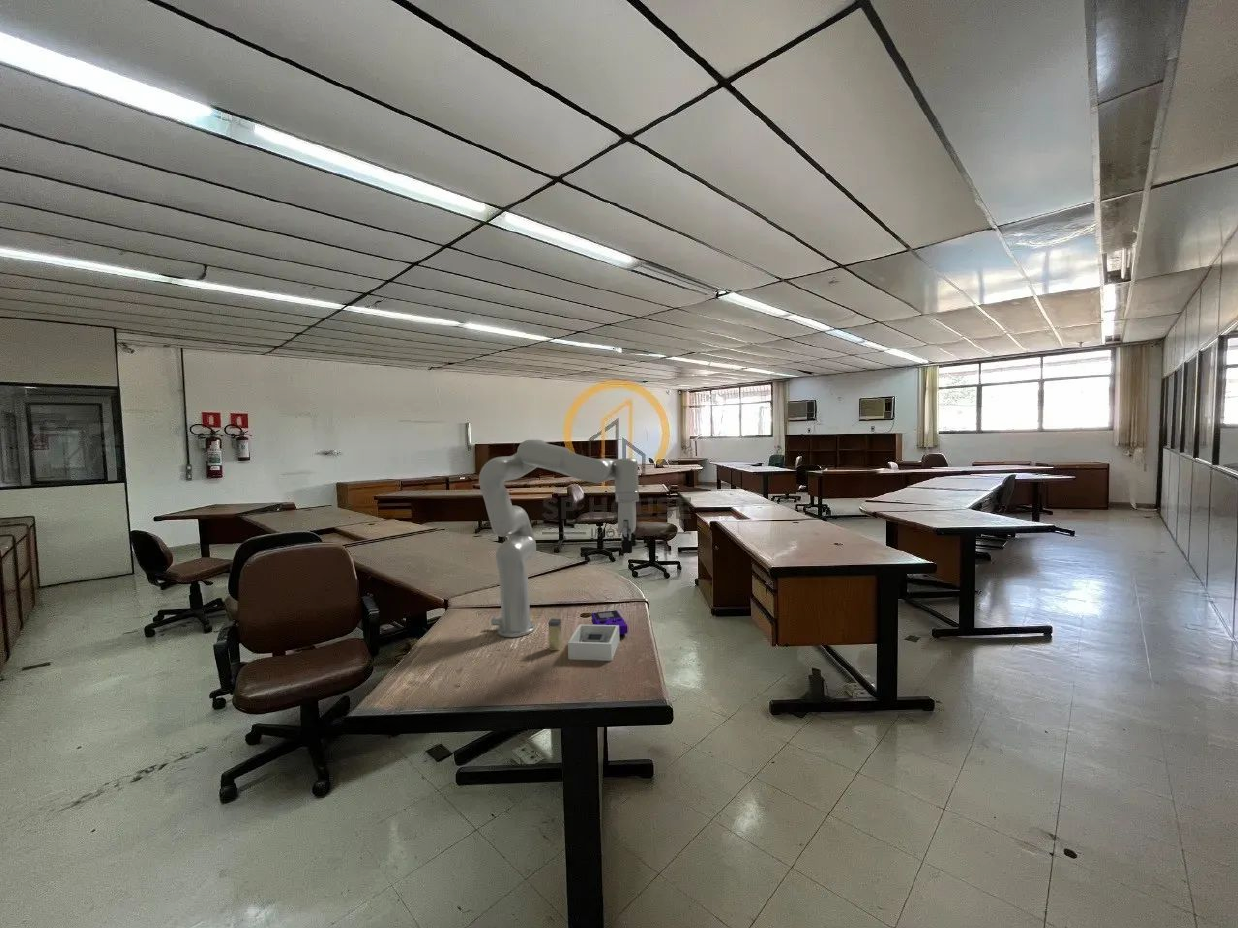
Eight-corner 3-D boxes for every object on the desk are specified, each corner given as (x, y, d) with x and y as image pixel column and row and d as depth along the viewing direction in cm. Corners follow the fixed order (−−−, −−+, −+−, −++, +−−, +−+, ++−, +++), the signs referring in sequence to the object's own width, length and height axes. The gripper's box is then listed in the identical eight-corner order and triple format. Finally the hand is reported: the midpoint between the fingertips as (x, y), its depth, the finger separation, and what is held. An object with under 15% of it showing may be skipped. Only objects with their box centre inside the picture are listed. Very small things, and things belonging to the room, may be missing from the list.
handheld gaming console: (600, 627, 151) (591, 611, 165) (600, 643, 151) (591, 626, 165) (628, 623, 153) (616, 608, 167) (628, 639, 153) (617, 623, 168)
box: (568, 659, 139) (567, 642, 139) (580, 639, 153) (579, 624, 152) (611, 660, 137) (611, 643, 137) (619, 640, 151) (619, 625, 150)
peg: (549, 650, 146) (548, 622, 145) (552, 646, 148) (551, 618, 148) (559, 650, 145) (557, 622, 145) (561, 646, 148) (560, 618, 148)
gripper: (619, 493, 161) (621, 543, 162) (611, 500, 144) (613, 555, 145) (641, 493, 160) (643, 543, 160) (635, 499, 143) (637, 555, 143)
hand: (629, 549), depth 153 cm, fingers open, 9 cm apart
